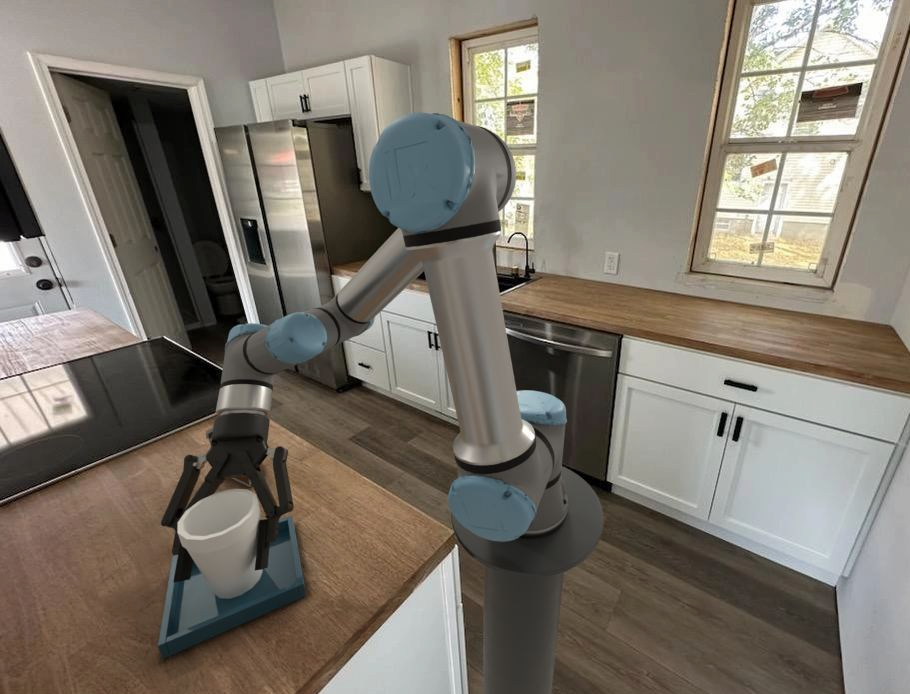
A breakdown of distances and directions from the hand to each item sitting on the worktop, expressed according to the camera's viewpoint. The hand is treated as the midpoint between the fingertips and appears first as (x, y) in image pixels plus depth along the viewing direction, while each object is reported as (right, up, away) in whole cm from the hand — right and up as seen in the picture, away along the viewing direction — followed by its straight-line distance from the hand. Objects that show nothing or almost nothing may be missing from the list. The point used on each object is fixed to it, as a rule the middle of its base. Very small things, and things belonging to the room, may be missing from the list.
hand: (222, 574), depth 58 cm
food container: (-14, +5, +28) cm, 32 cm away
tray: (-1, -4, +5) cm, 6 cm away
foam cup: (-1, -4, +5) cm, 6 cm away
